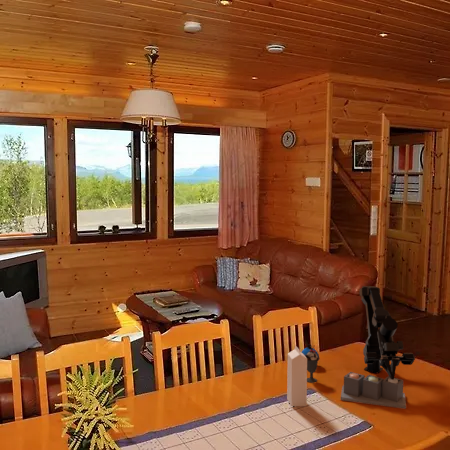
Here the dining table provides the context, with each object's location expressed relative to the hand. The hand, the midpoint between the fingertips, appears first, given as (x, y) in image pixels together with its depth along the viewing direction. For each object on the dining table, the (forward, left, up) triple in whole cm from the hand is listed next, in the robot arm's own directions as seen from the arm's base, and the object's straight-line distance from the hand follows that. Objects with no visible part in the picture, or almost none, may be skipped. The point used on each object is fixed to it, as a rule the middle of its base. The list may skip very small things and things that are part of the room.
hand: (392, 379), depth 187 cm
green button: (+3, -6, -4) cm, 8 cm away
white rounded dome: (0, 0, -4) cm, 4 cm away
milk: (+26, -28, -9) cm, 39 cm away
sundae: (+4, -34, -9) cm, 35 cm away
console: (+3, -7, -9) cm, 11 cm away
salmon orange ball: (+5, -13, -4) cm, 15 cm away
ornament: (-10, -43, -9) cm, 45 cm away
